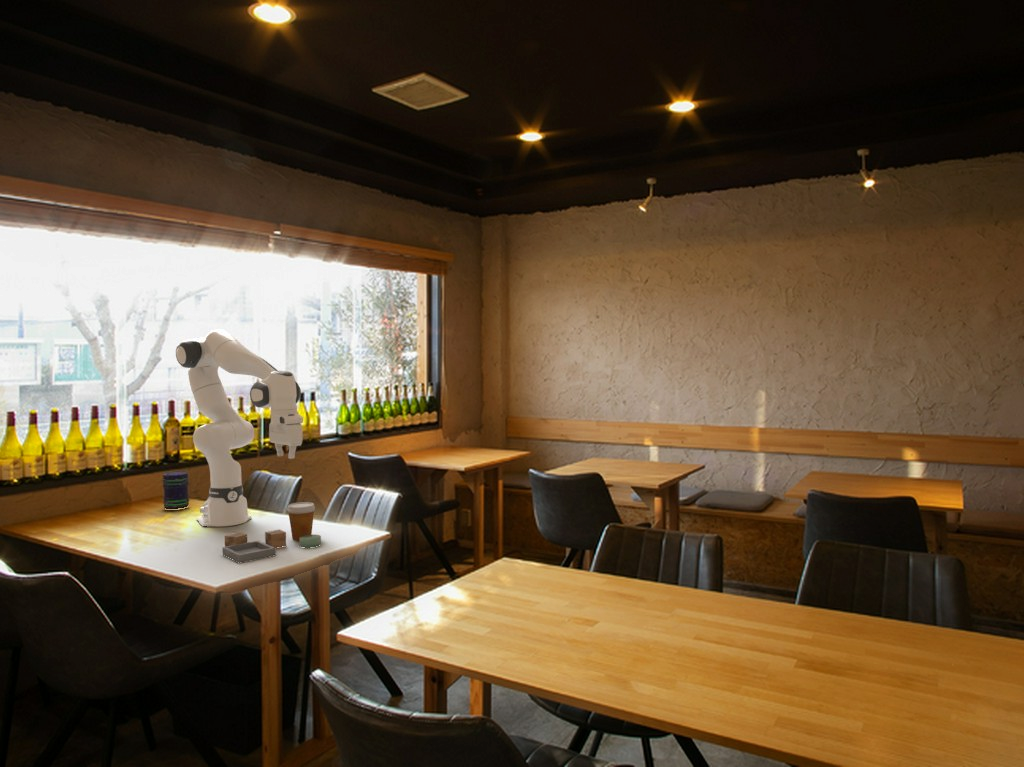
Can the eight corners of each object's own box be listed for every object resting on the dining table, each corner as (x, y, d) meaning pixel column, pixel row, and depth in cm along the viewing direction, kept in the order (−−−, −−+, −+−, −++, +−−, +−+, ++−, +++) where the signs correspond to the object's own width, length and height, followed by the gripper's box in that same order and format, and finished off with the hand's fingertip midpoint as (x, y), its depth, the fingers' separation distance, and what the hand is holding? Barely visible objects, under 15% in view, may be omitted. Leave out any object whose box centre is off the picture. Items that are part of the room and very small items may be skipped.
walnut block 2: (265, 546, 249) (265, 532, 249) (279, 543, 252) (279, 529, 252) (272, 549, 245) (271, 534, 245) (286, 546, 249) (285, 532, 249)
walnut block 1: (225, 550, 245) (224, 535, 245) (236, 546, 249) (236, 532, 249) (235, 552, 243) (235, 537, 242) (247, 548, 247) (247, 533, 247)
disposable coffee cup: (319, 535, 263) (319, 502, 262) (310, 542, 253) (309, 507, 253) (294, 535, 264) (293, 501, 263) (283, 542, 254) (282, 507, 254)
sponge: (295, 545, 250) (295, 537, 250) (314, 542, 255) (314, 533, 255) (305, 549, 245) (305, 540, 245) (324, 545, 250) (324, 537, 250)
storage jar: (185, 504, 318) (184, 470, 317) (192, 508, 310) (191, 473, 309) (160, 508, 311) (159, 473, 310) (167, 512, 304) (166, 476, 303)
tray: (222, 554, 239) (222, 547, 239) (258, 547, 247) (258, 540, 247) (238, 563, 230) (238, 555, 230) (275, 555, 238) (275, 547, 238)
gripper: (263, 416, 262) (265, 455, 263) (287, 419, 247) (289, 460, 247) (280, 415, 267) (282, 453, 267) (305, 418, 251) (307, 458, 251)
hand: (285, 457), depth 257 cm, fingers open, 8 cm apart
